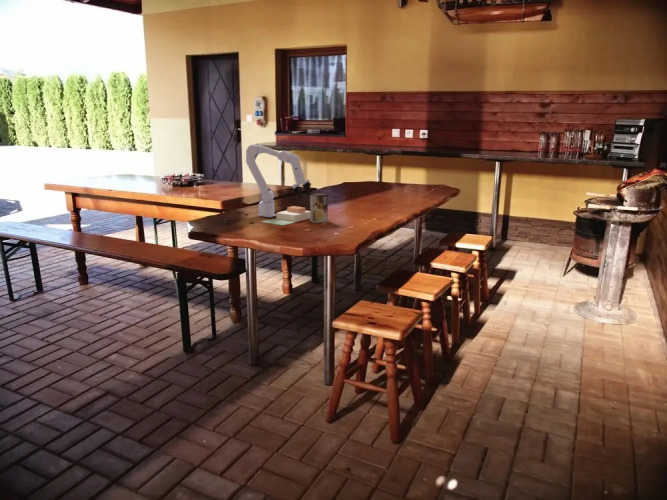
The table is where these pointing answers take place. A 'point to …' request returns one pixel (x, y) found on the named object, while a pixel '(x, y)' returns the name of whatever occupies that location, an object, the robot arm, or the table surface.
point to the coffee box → (318, 208)
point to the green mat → (279, 222)
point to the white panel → (293, 216)
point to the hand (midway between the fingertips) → (304, 196)
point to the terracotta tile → (295, 209)
